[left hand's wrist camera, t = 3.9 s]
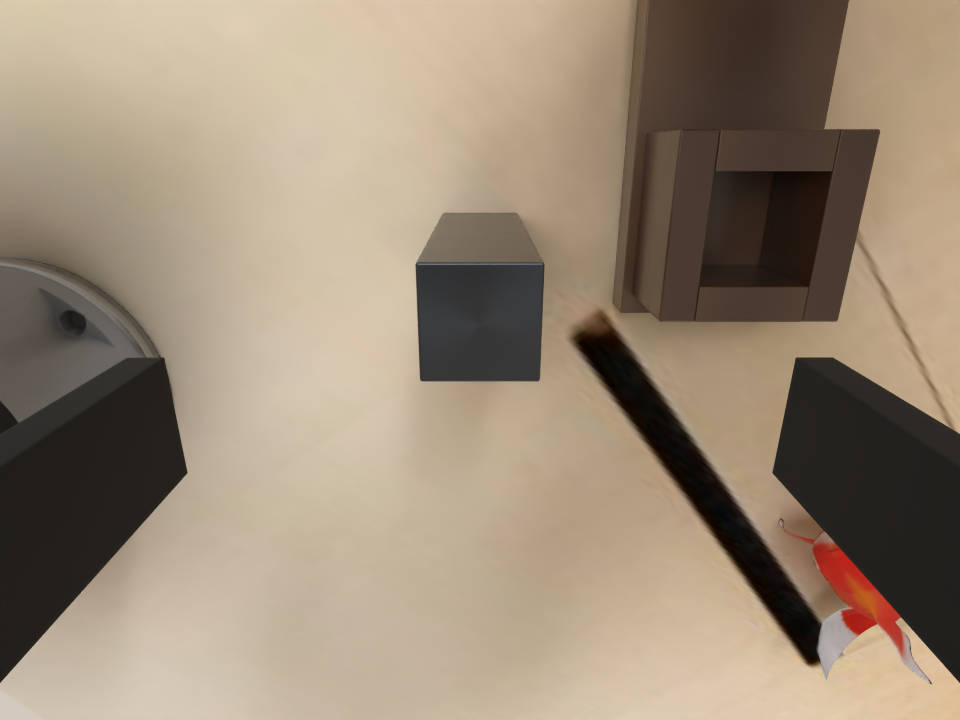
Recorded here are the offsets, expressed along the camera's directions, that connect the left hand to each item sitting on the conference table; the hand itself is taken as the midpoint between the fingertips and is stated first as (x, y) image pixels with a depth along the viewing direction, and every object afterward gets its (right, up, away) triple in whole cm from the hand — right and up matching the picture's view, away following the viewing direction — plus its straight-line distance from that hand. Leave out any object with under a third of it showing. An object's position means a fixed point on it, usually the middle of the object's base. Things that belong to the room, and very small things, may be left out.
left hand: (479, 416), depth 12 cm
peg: (0, +7, +19) cm, 21 cm away
